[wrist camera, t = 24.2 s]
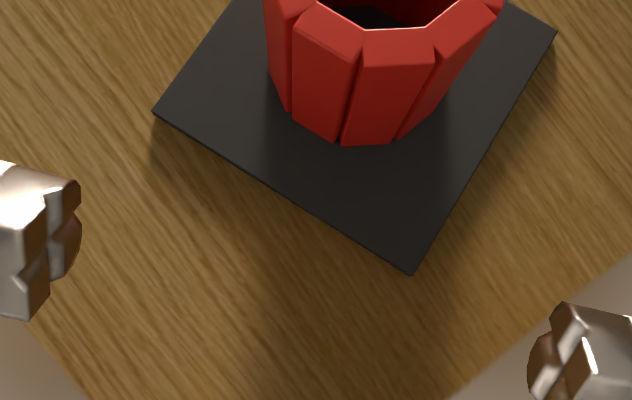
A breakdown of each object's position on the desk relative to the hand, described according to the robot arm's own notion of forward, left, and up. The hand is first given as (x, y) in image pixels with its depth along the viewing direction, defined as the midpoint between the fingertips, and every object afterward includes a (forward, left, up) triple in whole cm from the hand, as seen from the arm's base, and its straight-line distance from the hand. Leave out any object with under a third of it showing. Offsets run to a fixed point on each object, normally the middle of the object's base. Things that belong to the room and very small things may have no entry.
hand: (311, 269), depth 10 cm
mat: (+8, +3, -11) cm, 14 cm away
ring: (+8, +3, -11) cm, 14 cm away
